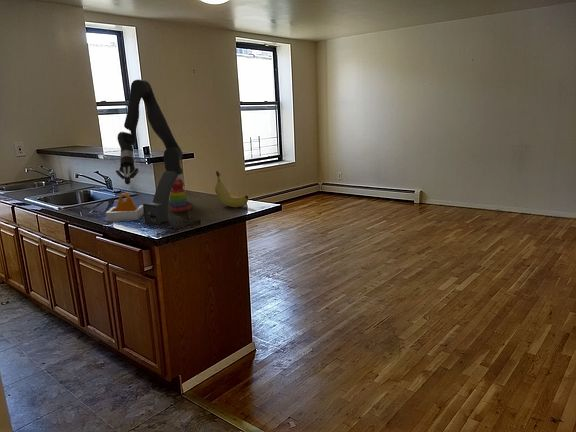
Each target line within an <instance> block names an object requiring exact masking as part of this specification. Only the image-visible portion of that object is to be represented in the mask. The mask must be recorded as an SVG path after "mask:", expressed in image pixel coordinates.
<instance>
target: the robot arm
mask: <svg viewBox="0 0 576 432" xmlns="http://www.w3.org/2000/svg"><path fill="white" fill-rule="evenodd" d="M128 99H129V101H128V108H127V113H126V116H125V120H124V124H123V127H124V128H125V129H126V130H128V131H130V133H129V132H126V131H119V133H117V136H116V137H117V139H116V140H117V142H118V146H119V147H120V154H119V155H120V159H119V160H120V162H119V165H120V166H119V169H118V170H117V169H116V170H115V173H116V175H117V176H118V177H120V178H121V180H124V183H125V184H126V186H127V185H130V184H131V179H134V178H135V177H136V176H137V175H138V174H139V173H140V171H139V170H140V169H139V168H138V167H137V168H136V167H135V156H134V145H136V143H137V126H138V124H139V123H138V122H139V119H140V104H141V100H142V101H143V103H144V105H145V109H146V116H147V120H148V122H149V125H150V126H151V129H152V130H153V131H154V133H155V134H156V135H157V137H158V138H159V139H160V140H161V141H162V143H163V145H164V148H165V150H164V151H163V163H164V169H165V171H170V172H176V173H177V174H178V177H177V179H182V181H183V182H184V175H183V169H182V167H181V165H180V161H181V160H182V159H183V151H182V149H181V147H180V146H179V144H178V143H177V141H176V139H175V138H174V135H173V133H172V130H171V129H170V126H169V124H168V122H167V119H166V118H165V116H164V114H163V112H162V110H161V108H160V106H159V103H158V101H157V99H156V96H155V94H154V92H153V88H152V86H151V83H149V82H148V81H147V80H145V79H135V80H133V81H132V82H131V84H130V91H129V98H128ZM172 189H173V188H172ZM172 189H171V190H172ZM183 189H184V191H185V192H186V190H185V185H183ZM168 201H170V196H169V200H168Z"/></svg>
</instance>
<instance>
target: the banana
mask: <svg viewBox="0 0 576 432" xmlns="http://www.w3.org/2000/svg"><path fill="white" fill-rule="evenodd" d="M215 174H216V175H215V176H216V177H217V180H216V183H215V185H214V192H215V194H216V196H217V197H218V199H219V200H220V201H221V202H222V203H223V204H224V205H226V206H228V207H230V208H241V207H244V206H245V205H247V203H248V201H249V196H248V195H245V194H244V195H241V196H235V195H232V194H231V193H230V192H229V190H227V188H226V186H225V185H224V183H223V182H222V181H221V177H220V176H221V174H220V172H219V171H215Z"/></svg>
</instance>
